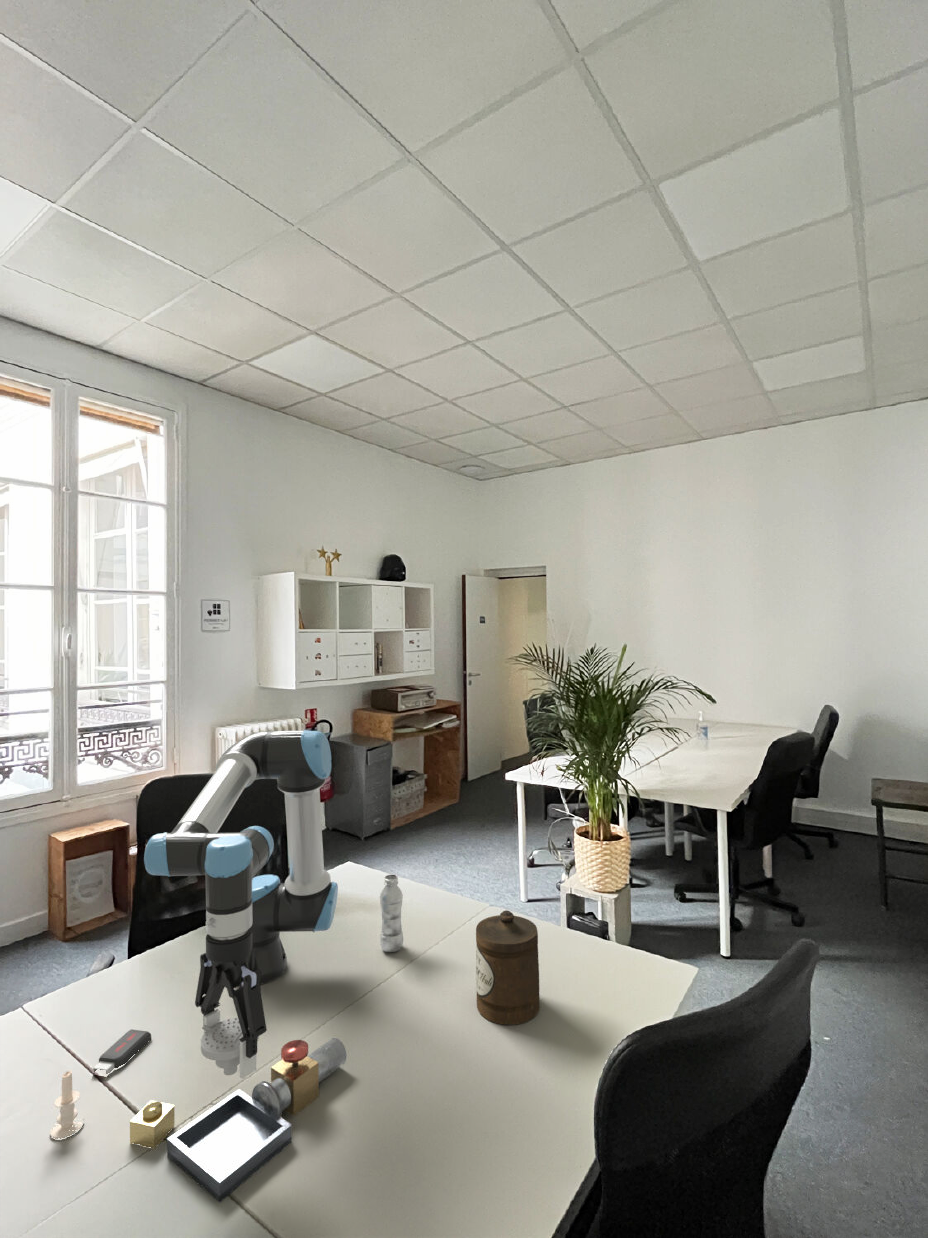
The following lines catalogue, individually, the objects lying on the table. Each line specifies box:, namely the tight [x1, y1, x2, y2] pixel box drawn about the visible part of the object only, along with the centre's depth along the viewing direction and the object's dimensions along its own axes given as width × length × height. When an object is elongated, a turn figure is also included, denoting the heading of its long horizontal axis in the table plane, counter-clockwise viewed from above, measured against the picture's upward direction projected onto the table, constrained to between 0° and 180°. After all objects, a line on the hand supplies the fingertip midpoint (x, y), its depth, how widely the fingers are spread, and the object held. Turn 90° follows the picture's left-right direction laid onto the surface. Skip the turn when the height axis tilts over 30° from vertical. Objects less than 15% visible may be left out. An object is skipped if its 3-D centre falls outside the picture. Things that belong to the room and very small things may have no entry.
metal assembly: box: [166, 1037, 348, 1203], centre depth 116 cm, size 15×32×10 cm, turn 145°
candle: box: [49, 1070, 82, 1139], centre depth 113 cm, size 5×5×10 cm
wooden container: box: [475, 910, 541, 1026], centre depth 149 cm, size 15×15×22 cm
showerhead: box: [200, 1017, 260, 1076], centre depth 109 cm, size 9×7×10 cm
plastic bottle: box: [379, 874, 404, 953], centre depth 175 cm, size 6×7×20 cm
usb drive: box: [92, 1029, 152, 1074], centre depth 132 cm, size 5×12×3 cm, turn 170°
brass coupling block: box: [129, 1100, 175, 1150], centre depth 112 cm, size 5×5×5 cm
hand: (229, 1061), depth 108 cm, fingers closed on showerhead, 9 cm apart
